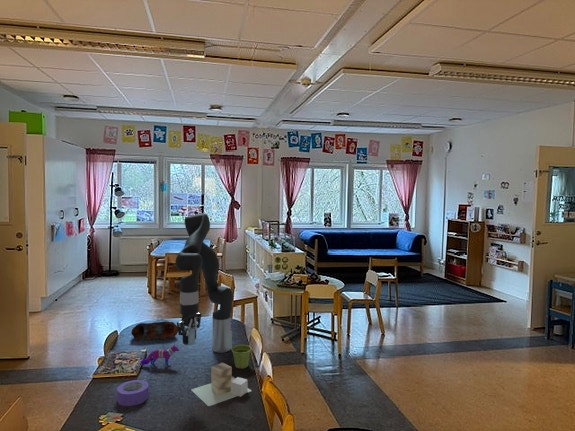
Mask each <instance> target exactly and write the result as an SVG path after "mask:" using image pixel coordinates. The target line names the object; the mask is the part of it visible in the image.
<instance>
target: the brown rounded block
mask: <svg viewBox="0 0 575 431" xmlns="http://www.w3.org/2000/svg"><path fill="white" fill-rule="evenodd" d="M130 332H131V333H130V334H131V335H132V337H133V338H134V339H135V340H136V341H138V342H140V340H143V342H145V341H152V339H154V338H156V339H155V341H158V340H159V341H160V340H166V339H165V338H166V337H170V340H172V339H173V338H175V337H176V335H178V334H179V333H178V328H177V324H176V323H175V322H174V321H167V320H166V321H160V322H158V321H157V322H156V321H155V322H147V323H146V322H145V323H144V322H140V323H138V324H136V325H134V327H133V328H132V330H131V331H130Z"/></svg>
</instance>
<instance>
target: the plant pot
mask: <svg viewBox="0 0 575 431" xmlns="http://www.w3.org/2000/svg"><path fill="white" fill-rule="evenodd" d="M230 351H231V352H232V355H233V360H234V367H235V368H237V369H246V368H247V367H249V360H250V354H251V351H252V347H251V346H250V345H246V344H238V345H234V346H232V349H230Z"/></svg>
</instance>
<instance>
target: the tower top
mask: <svg viewBox="0 0 575 431" xmlns="http://www.w3.org/2000/svg"><path fill="white" fill-rule="evenodd" d="M232 369H233V368H232V366H231V365H228V364H226V363H224V362H220V363H218V364H216V365H213V366H211V367H210V378H211V381H212V380H214V381H216V382H218V383H220V384H221V383H223V382H225V381H227V380H230V379H232V375H233V374H232V373H233V371H232Z"/></svg>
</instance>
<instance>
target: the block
mask: <svg viewBox="0 0 575 431" xmlns="http://www.w3.org/2000/svg"><path fill="white" fill-rule="evenodd" d="M248 384H249V383H248V379H247V378H243V377H240V376H237V377H236V378H235V379H234V380H233V381H231V394H233V395H237V396H236V397H239V398H240V397H242V396H244V395H245V394H247V393H246V392H247V391H248V386H249V385H248Z"/></svg>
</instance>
